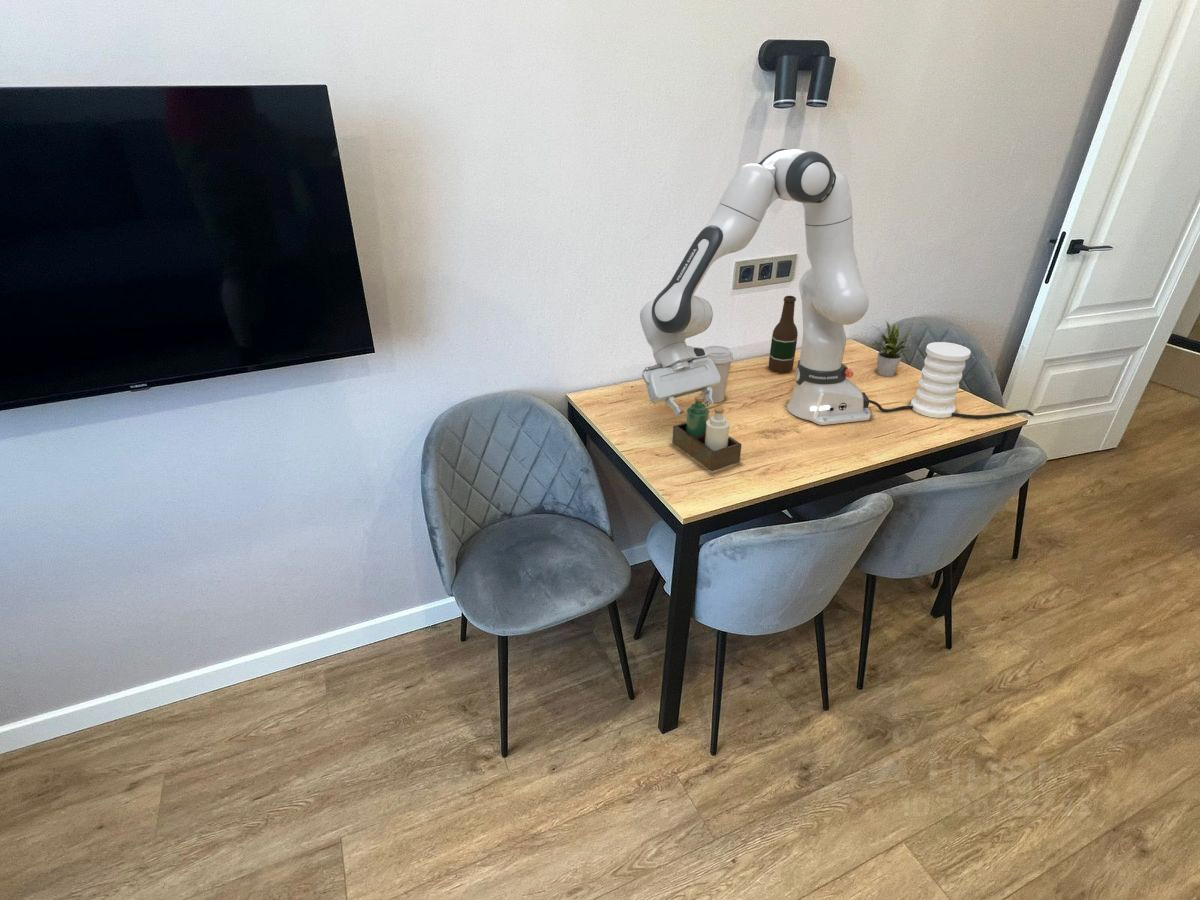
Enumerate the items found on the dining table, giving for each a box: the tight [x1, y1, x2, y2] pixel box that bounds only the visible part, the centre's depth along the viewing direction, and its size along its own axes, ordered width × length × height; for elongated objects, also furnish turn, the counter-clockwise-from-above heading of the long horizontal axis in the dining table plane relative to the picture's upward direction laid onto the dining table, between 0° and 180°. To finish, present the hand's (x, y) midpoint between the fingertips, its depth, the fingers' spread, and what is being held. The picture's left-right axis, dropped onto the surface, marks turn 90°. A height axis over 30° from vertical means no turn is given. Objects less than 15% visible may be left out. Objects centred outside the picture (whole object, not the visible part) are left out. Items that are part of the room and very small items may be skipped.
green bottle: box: [685, 394, 710, 438], centre depth 161 cm, size 6×6×14 cm
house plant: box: [870, 320, 918, 377], centre depth 202 cm, size 14×14×16 cm
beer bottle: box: [768, 295, 799, 375], centre depth 203 cm, size 8×8×24 cm
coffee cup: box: [701, 345, 734, 404], centre depth 187 cm, size 10×10×15 cm
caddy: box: [672, 421, 743, 472], centre depth 161 cm, size 16×9×6 cm, turn 30°
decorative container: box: [909, 341, 972, 419], centre depth 178 cm, size 12×12×18 cm
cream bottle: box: [705, 406, 731, 451], centre depth 155 cm, size 6×6×14 cm
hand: (695, 409), depth 161 cm, fingers open, 8 cm apart
